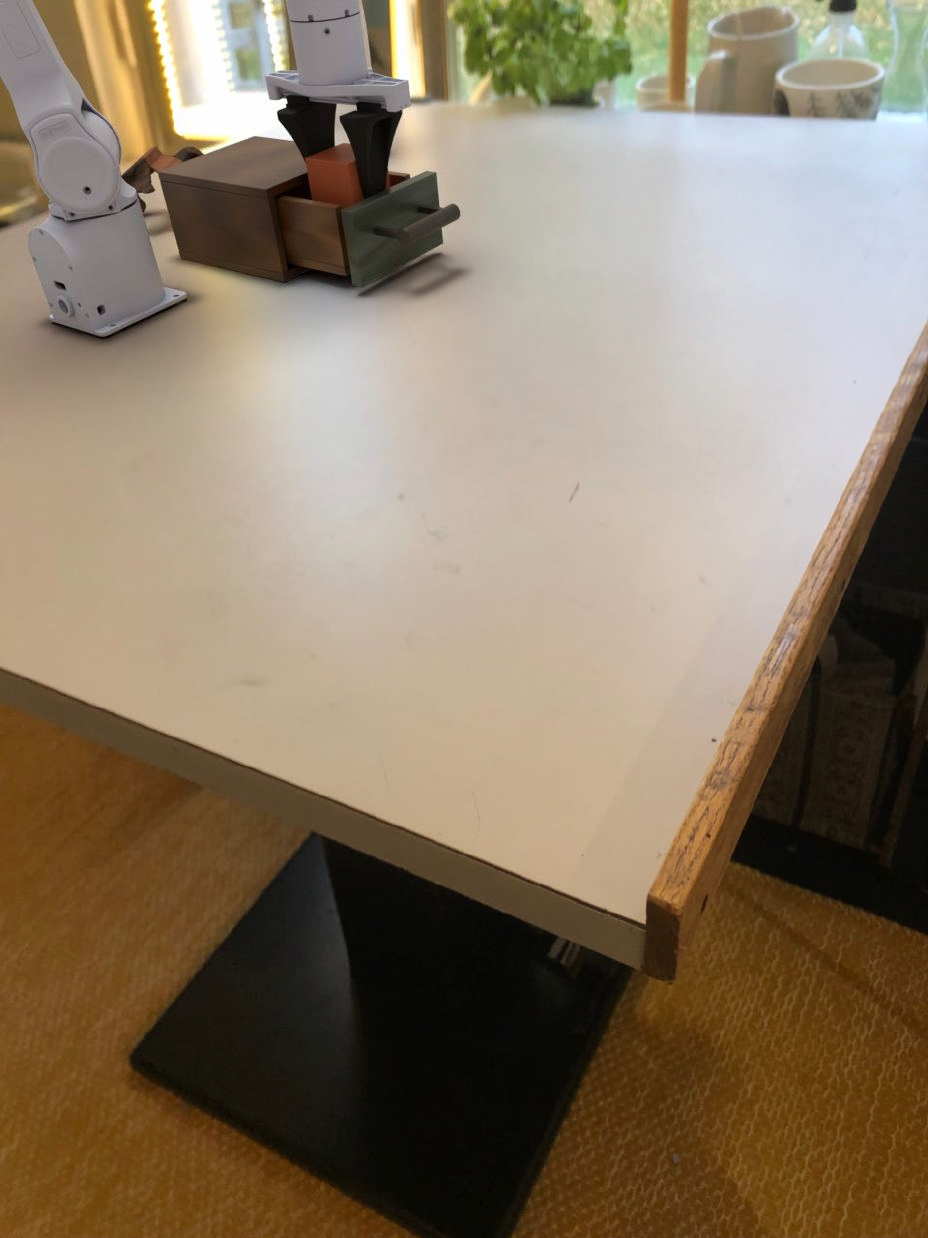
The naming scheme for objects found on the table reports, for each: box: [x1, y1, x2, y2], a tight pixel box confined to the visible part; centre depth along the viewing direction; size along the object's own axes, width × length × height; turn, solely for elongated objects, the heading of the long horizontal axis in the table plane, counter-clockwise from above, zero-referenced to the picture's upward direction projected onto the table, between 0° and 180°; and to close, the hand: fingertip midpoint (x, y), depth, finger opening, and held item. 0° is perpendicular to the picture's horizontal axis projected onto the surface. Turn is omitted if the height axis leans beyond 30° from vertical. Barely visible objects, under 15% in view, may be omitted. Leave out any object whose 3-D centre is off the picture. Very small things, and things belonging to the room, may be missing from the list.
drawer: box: [273, 170, 461, 288], centre depth 88 cm, size 18×11×6 cm, turn 53°
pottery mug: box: [121, 145, 205, 214], centre depth 105 cm, size 12×10×8 cm
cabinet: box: [157, 135, 312, 283], centre depth 94 cm, size 15×13×8 cm
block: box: [305, 143, 390, 209], centre depth 86 cm, size 5×5×5 cm
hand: (351, 193), depth 87 cm, fingers open, 5 cm apart
